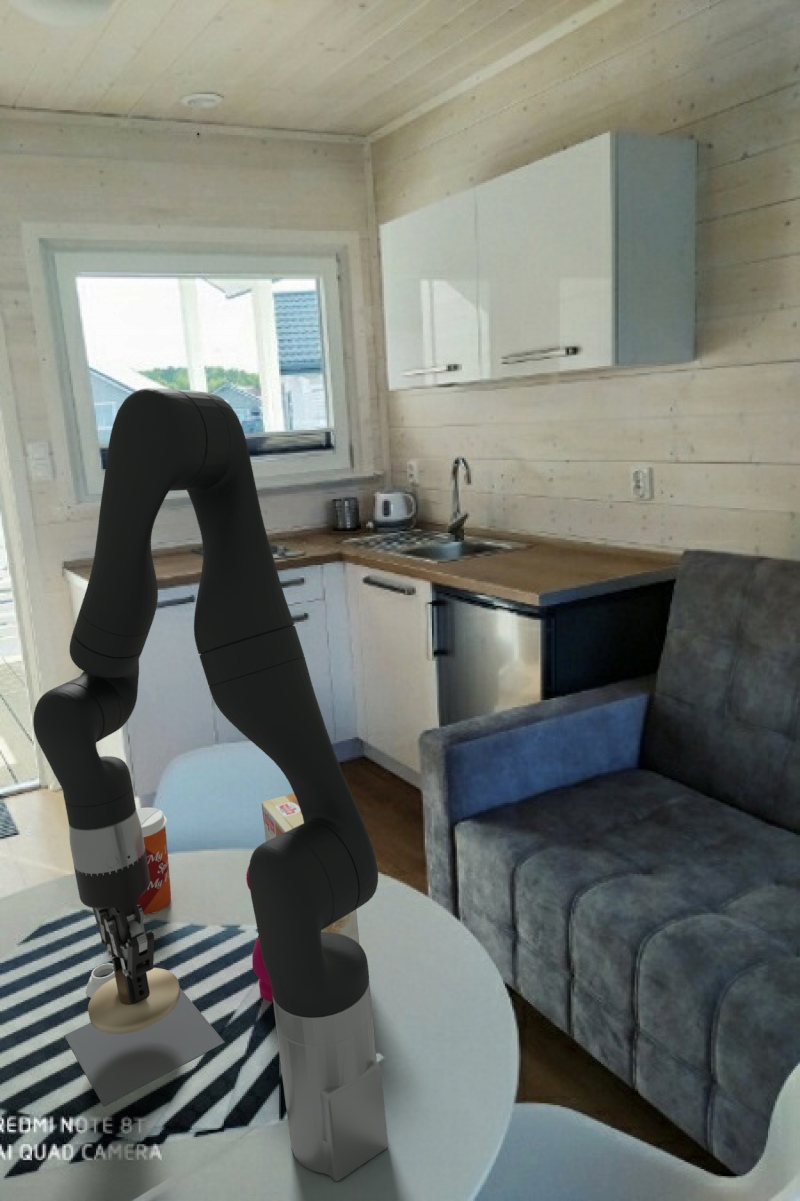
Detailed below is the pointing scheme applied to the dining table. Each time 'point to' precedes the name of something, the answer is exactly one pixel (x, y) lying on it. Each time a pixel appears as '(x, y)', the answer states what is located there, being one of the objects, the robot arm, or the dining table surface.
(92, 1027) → the mat
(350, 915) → the coffeecake box
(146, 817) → the paper cup
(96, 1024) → the lid
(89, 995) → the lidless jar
